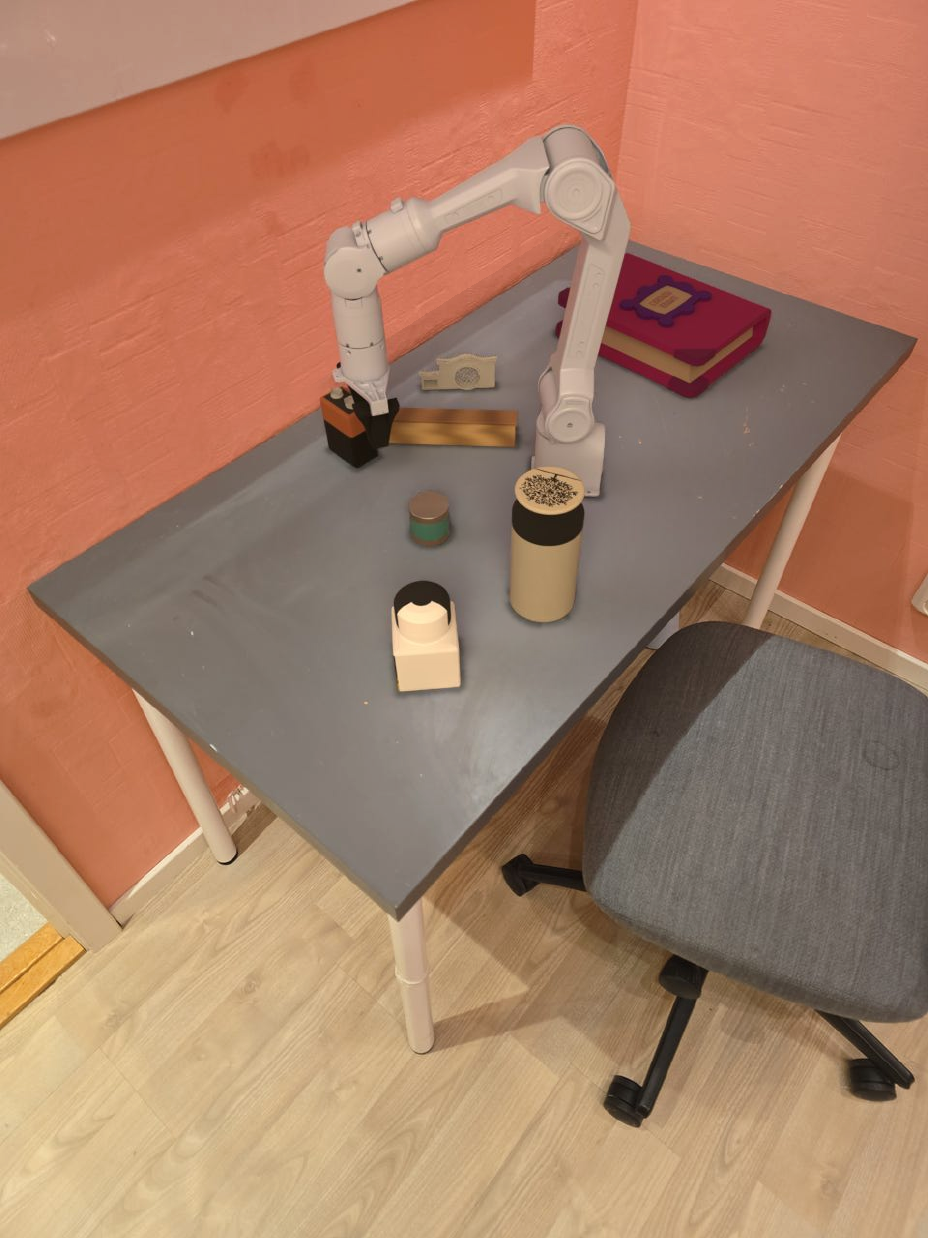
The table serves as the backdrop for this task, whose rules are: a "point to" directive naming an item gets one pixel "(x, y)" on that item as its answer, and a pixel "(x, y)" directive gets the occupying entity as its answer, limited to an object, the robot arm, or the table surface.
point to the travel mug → (546, 543)
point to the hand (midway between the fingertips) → (373, 428)
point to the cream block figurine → (425, 638)
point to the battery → (345, 428)
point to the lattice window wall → (452, 365)
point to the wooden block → (454, 427)
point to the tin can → (429, 518)
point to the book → (676, 327)
